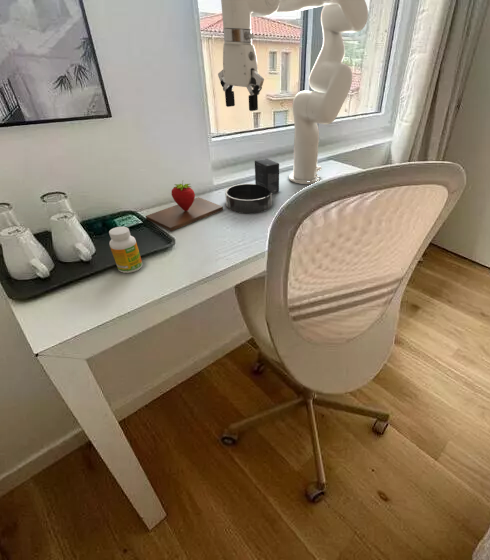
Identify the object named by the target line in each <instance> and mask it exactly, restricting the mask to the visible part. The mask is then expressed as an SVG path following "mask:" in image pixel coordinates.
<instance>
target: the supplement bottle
mask: <svg viewBox="0 0 490 560" xmlns="http://www.w3.org/2000/svg"><path fill="white" fill-rule="evenodd" d="M108 234H109V237H110V240H109V248H110V251H111V254H112V256H113V259H114V261H115V265H116V268H117V270H118V272H120V273H123V274H129V273H134V272H137V271H139V270H140V269H141V268H142V267H143V260H142V257H141V253H140V250H139V246H138V243H137V240H136V237H134V236H133V235H131V231H130V228H128V227H127V226H116V227H113V228H111V229H110V230H109V231H108Z"/></svg>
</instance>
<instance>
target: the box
mask: <svg viewBox="0 0 490 560" xmlns="http://www.w3.org/2000/svg"><path fill="white" fill-rule="evenodd" d="M254 184H258V185H263V186H266V187H268V188H269V189H270V190H271V192H272V195H273V194H276V193H279V192H280V163H279V162H276V161H273V160H272V159H269V158H262V159H255V160H254Z"/></svg>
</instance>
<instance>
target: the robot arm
mask: <svg viewBox="0 0 490 560" xmlns="http://www.w3.org/2000/svg"><path fill="white" fill-rule="evenodd" d="M220 2H221V15H222V16H221V17H222V27H223V28H222V29H223V30H222V31H223V42H224V43H223V47H222V70H221V71H219V72H218V73H217V77H218V79H219V81H220V86H221V87H222V91H223V92H224V98H225V99H224V100H225V106H226V107H227V108H230V107H235V105H236V101H235V91H233V89H234V88H235V87H239V88H240V87H241V88H246V89H247V91H248V93H249V95H248V109H249V111H250V112H254V111H255V112H256V111H258V110H259V100H258V98H259V95H260V92H261V91H262V89H263V86H264V85H263V84H264V81H265V78H264V77H263V76H262V75H261V74H260V73H259V68H258V58H257V53H256V48H255V45H254V44H253V39H254V33H252V18H254V17H255V18H256V17H257V18H263V17H264V18H265V17H270V16H272V15H274V14H275V13H293V12H294V13H295V12H300V11H306V10H310V9H314V8H315V9H316V8H320V7H322V9H321V12H320V24H321V29H322V38H323V39H322V46H321V50H320V51H319V54H318V56H317V58H316V60H315V63H314V65H313V67H312V69H311V71H310V73H309V76H308V84H309V85H308V86H309V87H310V88H311V89H312V90H301V91H298V93H296V95H294V97H293V100H292V113H293V115H292V116H293V123H294V125H293V126H294V133H293V134H294V139H293V166H292V167H293V168H292V172H291V173H290V174H289V176H288V179H289V180H290V182H292V183H295V184H300V185H313V184H316V183H315V182H317V181H318V182H320V180H321V179H320V178H321V177H320V175H318V172H319V171H322V168H323V167H322V166H321V165H318V158H319V157H318V155H319V145H320V143H319V142H320V129H319V125H330V124H332V123H333V122H334V121H335V120H336V118H337V117H338V115H339V114H340V111H341V109H342V107H343V105H344V103H345V101H346V99H347V97H348V95H349V92H350V90H351V87H352V84H353V72H352V69H351V67H350V66H349V65H348V64H346V63H344V62H343V61H344V58H345V56H346V47H345V43H344V39H343V33H358V32H361V31H362V30H363V29H364V28H365V27H366V24H367V23H368V18H369V9H368V5H367V2H366V0H220ZM318 124H319V125H318ZM317 177H320V178H317ZM316 178H317V179H316ZM318 179H319V180H318ZM316 180H317V181H316ZM307 181H310V182H307ZM318 182H317V183H318Z"/></svg>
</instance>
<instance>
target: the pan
mask: <svg viewBox="0 0 490 560" xmlns="http://www.w3.org/2000/svg"><path fill="white" fill-rule="evenodd" d="M272 195H273V194H272V192H271V190H270V189H269V188H268V187H266V186H263V185H258V184H255V183H240V184H239V183H238V184H234V185H231V186H230V187H228V188H226V190H225V191H224V196H225V205H226V208H227V209H228V210H229V211H231V212H233V213H238V214H245V215H246V214H247V215H251V214H259V213H263V212H266V211H268V210H269V209H271V207H272V204H273V202H272V201H273V200H272V197H273V196H272Z"/></svg>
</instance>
